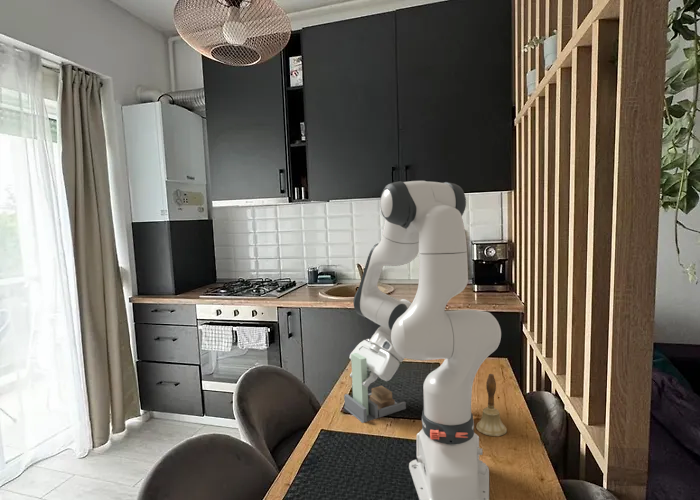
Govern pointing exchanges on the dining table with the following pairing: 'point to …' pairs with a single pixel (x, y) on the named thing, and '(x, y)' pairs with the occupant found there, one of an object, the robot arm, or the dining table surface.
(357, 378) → the sage panel
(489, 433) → the hand bell
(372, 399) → the bottom offcut
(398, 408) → the charcoal rack
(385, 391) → the top offcut
